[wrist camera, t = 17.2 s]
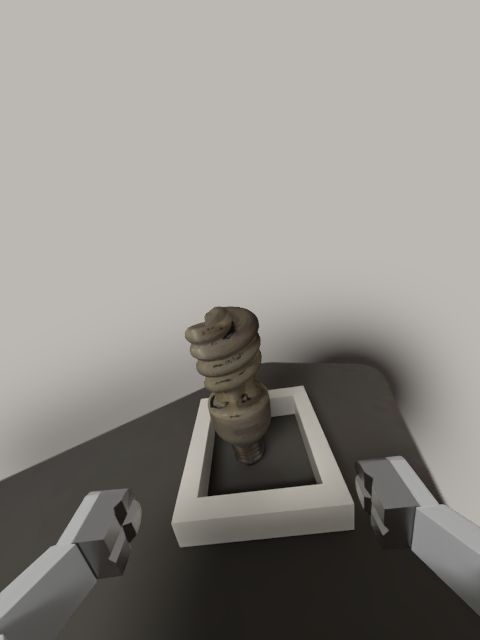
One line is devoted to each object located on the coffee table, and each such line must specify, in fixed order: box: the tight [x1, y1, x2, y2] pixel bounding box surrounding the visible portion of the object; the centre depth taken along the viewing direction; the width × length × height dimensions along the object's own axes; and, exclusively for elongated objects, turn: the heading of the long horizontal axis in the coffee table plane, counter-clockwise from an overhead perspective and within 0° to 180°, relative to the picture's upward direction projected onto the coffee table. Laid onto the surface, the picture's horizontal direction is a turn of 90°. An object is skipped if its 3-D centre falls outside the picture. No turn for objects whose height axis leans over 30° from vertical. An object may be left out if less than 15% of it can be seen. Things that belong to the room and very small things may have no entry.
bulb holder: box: [171, 386, 354, 547], centre depth 22 cm, size 12×13×2 cm
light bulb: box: [185, 307, 271, 466], centre depth 20 cm, size 6×6×15 cm
